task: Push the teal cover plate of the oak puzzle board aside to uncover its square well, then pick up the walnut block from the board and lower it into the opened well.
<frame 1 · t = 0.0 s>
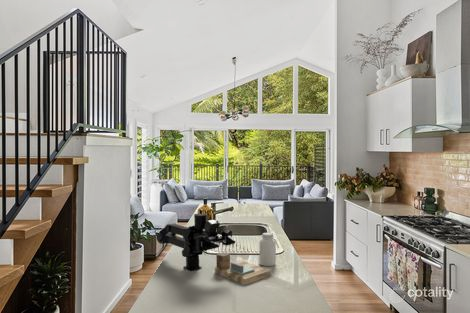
hand: (227, 244, 154), 17 cm above the worktop, tool horizontal, fingers open, 9 cm apart
pill bottle: (267, 264, 179), on the worktop
block: (223, 267, 167), point 2 cm above the worktop, touching board
cover: (242, 266, 162), point 4 cm above the worktop, slide at 0.0 cm
board: (242, 274, 165), on the worktop
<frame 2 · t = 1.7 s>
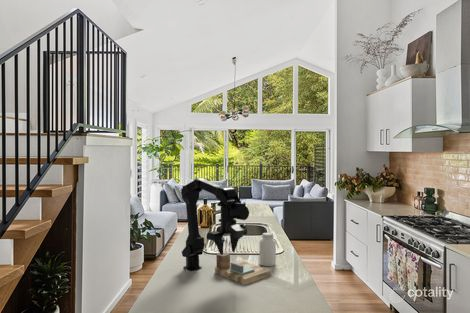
hand: (227, 253, 156), 12 cm above the worktop, tool pointing down, fingers open, 6 cm apart
nothing on the worktop moved.
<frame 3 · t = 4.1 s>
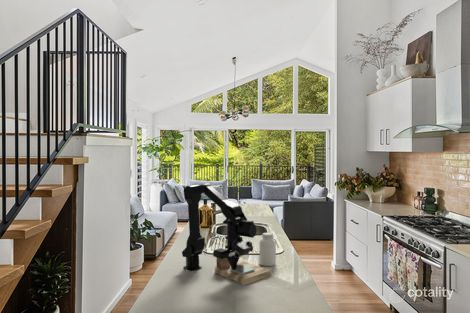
hand: (233, 269, 159), 4 cm above the worktop, tool pointing down, fingers closed
cover: (242, 266, 162), point 4 cm above the worktop, slide at 0.1 cm, touching gripper
everything else where it was.
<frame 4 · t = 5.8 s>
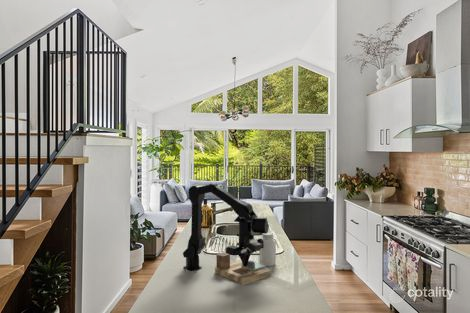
hand: (245, 266, 163), 4 cm above the worktop, tool pointing down, fingers closed
cover: (253, 263, 167), point 4 cm above the worktop, slide at 7.0 cm, touching gripper
everything else where it was.
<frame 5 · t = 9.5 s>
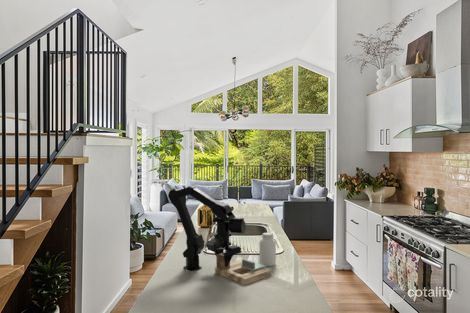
hand: (223, 265, 167), 3 cm above the worktop, tool pointing down, fingers closed on block, 4 cm apart
block: (223, 267, 167), point 2 cm above the worktop, touching board, gripper
cover: (253, 263, 167), point 4 cm above the worktop, slide at 7.0 cm
everything else where it was.
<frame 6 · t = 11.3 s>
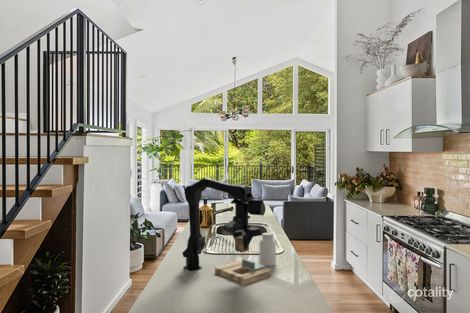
hand: (241, 248, 162), 12 cm above the worktop, tool pointing down, fingers closed on block, 4 cm apart
block: (242, 250, 162), point 12 cm above the worktop, touching gripper
everything else where it was.
when the fingers open (3 cm above the worktop, at t = 13.3 s): block drops 2 cm, resting in board.
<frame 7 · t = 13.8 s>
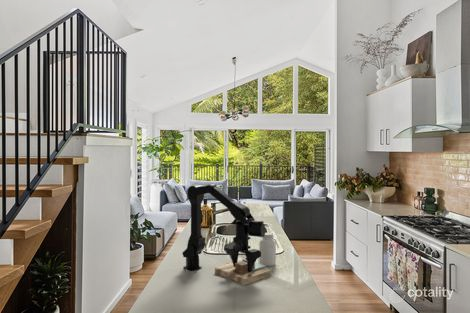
hand: (242, 269, 162), 3 cm above the worktop, tool pointing down, fingers open, 9 cm apart
block: (242, 276, 162), resting in board
everything else where it was.
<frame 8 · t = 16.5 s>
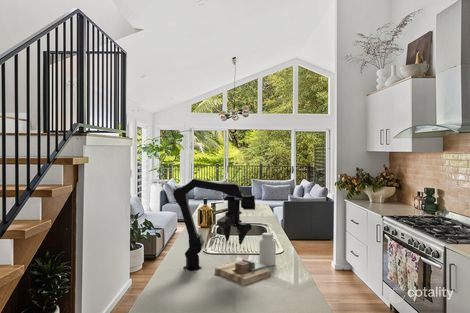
hand: (233, 242, 172), 13 cm above the worktop, tool pointing down, fingers open, 9 cm apart
nothing on the worktop moved.
at the end: cover slide at 7.0 cm; block 0.0 cm from the target spot on the board, point 0.0 cm above the board's base; block tilted 0° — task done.
